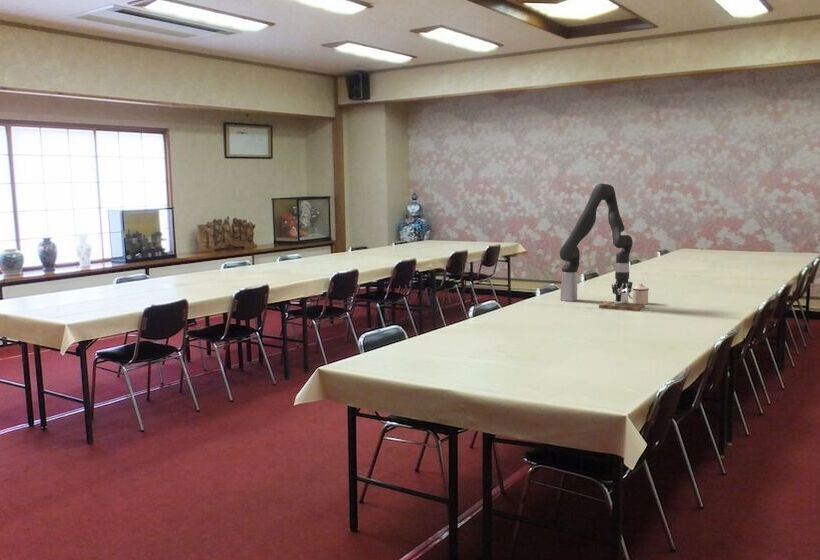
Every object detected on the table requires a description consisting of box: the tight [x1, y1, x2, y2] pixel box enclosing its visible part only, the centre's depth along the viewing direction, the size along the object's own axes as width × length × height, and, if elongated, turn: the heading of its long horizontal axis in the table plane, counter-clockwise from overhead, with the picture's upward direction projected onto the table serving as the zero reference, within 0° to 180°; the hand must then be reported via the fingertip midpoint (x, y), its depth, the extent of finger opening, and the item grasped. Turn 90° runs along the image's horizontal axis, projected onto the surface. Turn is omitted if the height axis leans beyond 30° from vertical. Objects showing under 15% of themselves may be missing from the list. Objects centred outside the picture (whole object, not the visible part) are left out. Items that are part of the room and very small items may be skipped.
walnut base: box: [598, 301, 646, 312], centre depth 415 cm, size 22×13×3 cm, turn 59°
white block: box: [614, 290, 629, 304], centre depth 414 cm, size 8×5×6 cm, turn 33°
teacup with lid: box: [628, 282, 650, 305], centre depth 428 cm, size 12×9×12 cm
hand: (621, 300), depth 414 cm, fingers closed on white block, 5 cm apart
